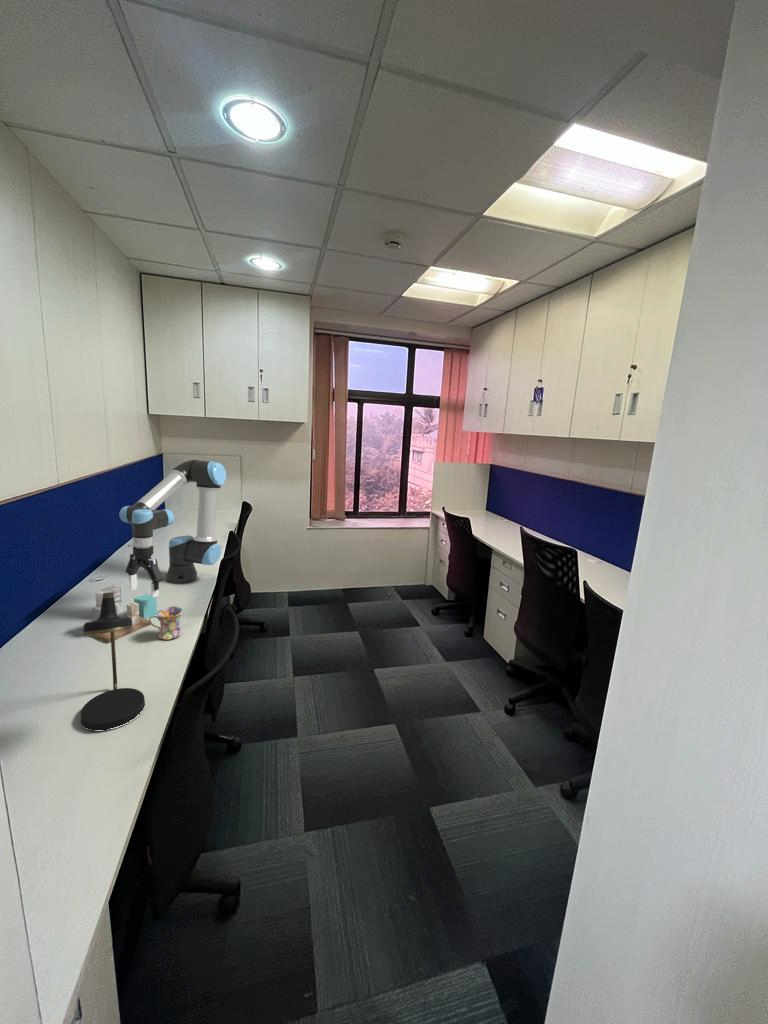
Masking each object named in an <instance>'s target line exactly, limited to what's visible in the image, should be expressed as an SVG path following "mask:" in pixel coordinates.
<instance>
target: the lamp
mask: <svg viewBox="0 0 768 1024" xmlns="http://www.w3.org/2000/svg"><path fill="white" fill-rule="evenodd" d="M133 628H134V627H133V624H132V619H131V618H130V617H125V616H122V617H121V616H119V615H118V616H117V613H116V607H115V600H114V593H113V592H109V593H103V596H102V605H101V612H100V617H99V618H98V619H97V620H95V621H93V620H92V621H88V622H85V623H83V629H82V633H81V634H80V636H81V637H82V636H84V637H85V636H91V635H93V634H101V633H108V632H110V634H111V642H110V649H111V662H112V664H111V667H112V689H110V690H107V691H105V692H103V693H100V694H98V695H96V696H94V697H93V698H91V699H90V700H89V701H88V702H86V703H85V704H84V705H83V706H82V708H81V711H80V715H79V716H80V725H81V724H82V725H83V726H84V727H85V728H88V729H91V730H107V729H110V728H114V727H117V726H120V725H123V724H125V723H127V722H129V721H130V720H132V719H134V718H135V717H136V716H137V715H138V714H140V712H141V711H142V710H143V708H144V706H145V707H146V702H145V701H146V700H145V695H144V694H143V692H142V691H140V690H139V689H137V688H129V687H122V688H118V674H117V657H116V656H117V655H116V640H115V635H114V632H115V631H122V630H128V629H133ZM144 709H145V708H144ZM143 711H144V710H143ZM140 715H141V714H140ZM82 725H81V726H82ZM83 726H82V727H83ZM84 727H83V728H84ZM85 728H84V729H85Z"/></svg>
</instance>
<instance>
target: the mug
mask: <svg viewBox="0 0 768 1024" xmlns="http://www.w3.org/2000/svg"><path fill="white" fill-rule="evenodd" d="M183 611H184V610H183V608H182V607H178V606H166V607H162V608H160V609H159V610H157V614H156V615H154V616H151V617H149V618H148V620H149V622H150V624H151V625H150V626H152V627H154V628H156V629H158V630H157V631H158V638H159V639H162V640H173V639H176V638H179V637H180V636H181V635H182V633H183V630H182V629H181V627H180V626H181V625H180V621H181V616H182V615H183ZM152 618H153V619H154V618H156V619H158V621H159V622H160V623H159V624H160V626H157V625H155V624H154V623H153V622H152V620H151V619H152Z"/></svg>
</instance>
